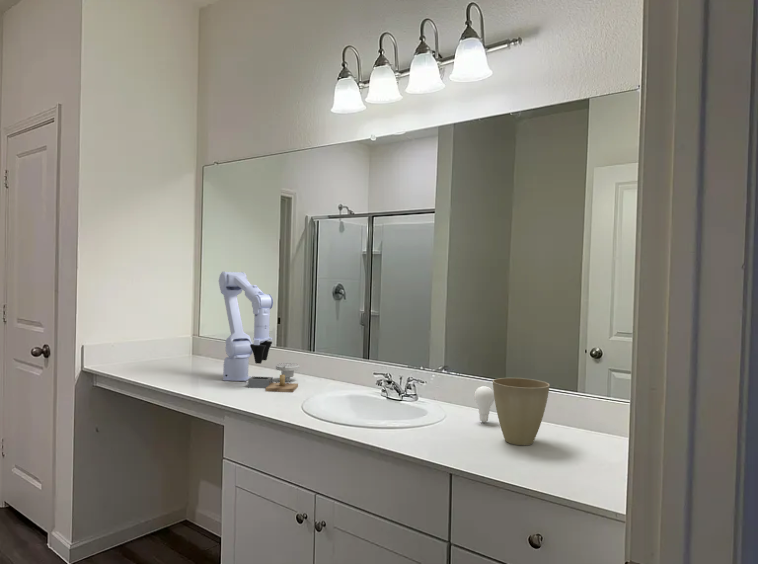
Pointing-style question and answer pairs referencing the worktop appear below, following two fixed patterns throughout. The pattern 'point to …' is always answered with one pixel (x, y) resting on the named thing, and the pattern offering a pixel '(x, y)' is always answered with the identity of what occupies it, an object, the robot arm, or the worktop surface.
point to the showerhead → (287, 369)
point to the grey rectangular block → (259, 382)
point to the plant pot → (520, 408)
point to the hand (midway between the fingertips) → (261, 361)
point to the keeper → (282, 386)
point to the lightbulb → (484, 401)
